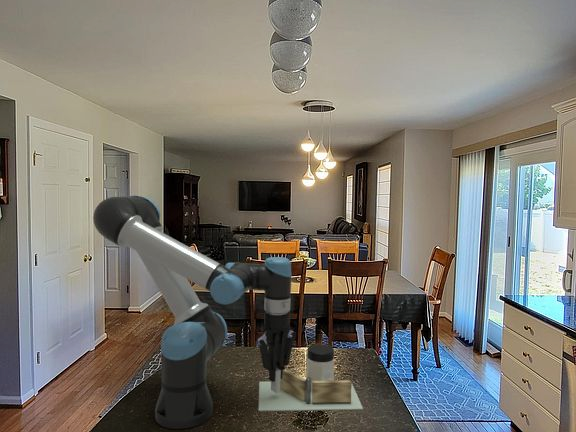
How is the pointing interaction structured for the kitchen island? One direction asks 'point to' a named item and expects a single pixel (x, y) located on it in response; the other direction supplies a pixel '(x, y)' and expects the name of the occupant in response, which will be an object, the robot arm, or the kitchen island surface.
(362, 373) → the kitchen island surface
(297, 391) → the fence panel
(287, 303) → the robot arm
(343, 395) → the fixed panel
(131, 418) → the kitchen island surface
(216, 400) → the kitchen island surface
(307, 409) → the board
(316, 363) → the jar
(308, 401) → the hinge post
